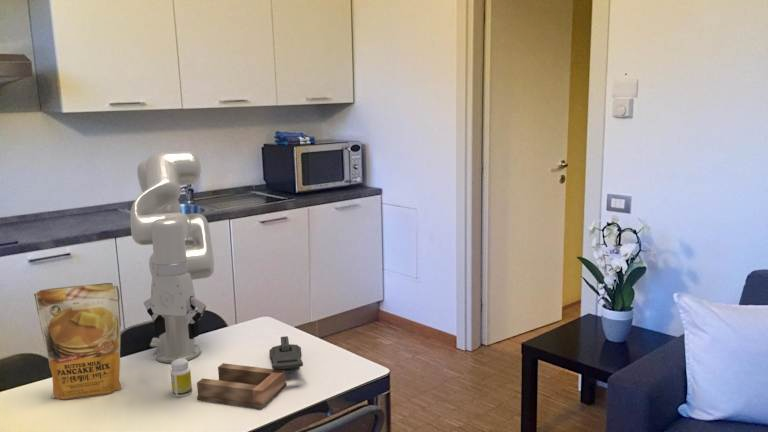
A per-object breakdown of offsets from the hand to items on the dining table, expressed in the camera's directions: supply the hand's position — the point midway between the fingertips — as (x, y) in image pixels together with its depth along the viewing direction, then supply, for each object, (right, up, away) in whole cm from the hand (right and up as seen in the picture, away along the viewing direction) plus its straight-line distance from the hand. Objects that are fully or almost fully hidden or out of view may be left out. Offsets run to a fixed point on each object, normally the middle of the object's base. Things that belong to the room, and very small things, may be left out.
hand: (177, 335), depth 162 cm
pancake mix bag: (-24, -16, +5) cm, 30 cm away
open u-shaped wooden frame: (+16, -15, +3) cm, 22 cm away
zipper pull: (+25, -12, +17) cm, 32 cm away
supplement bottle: (0, -15, +4) cm, 16 cm away
